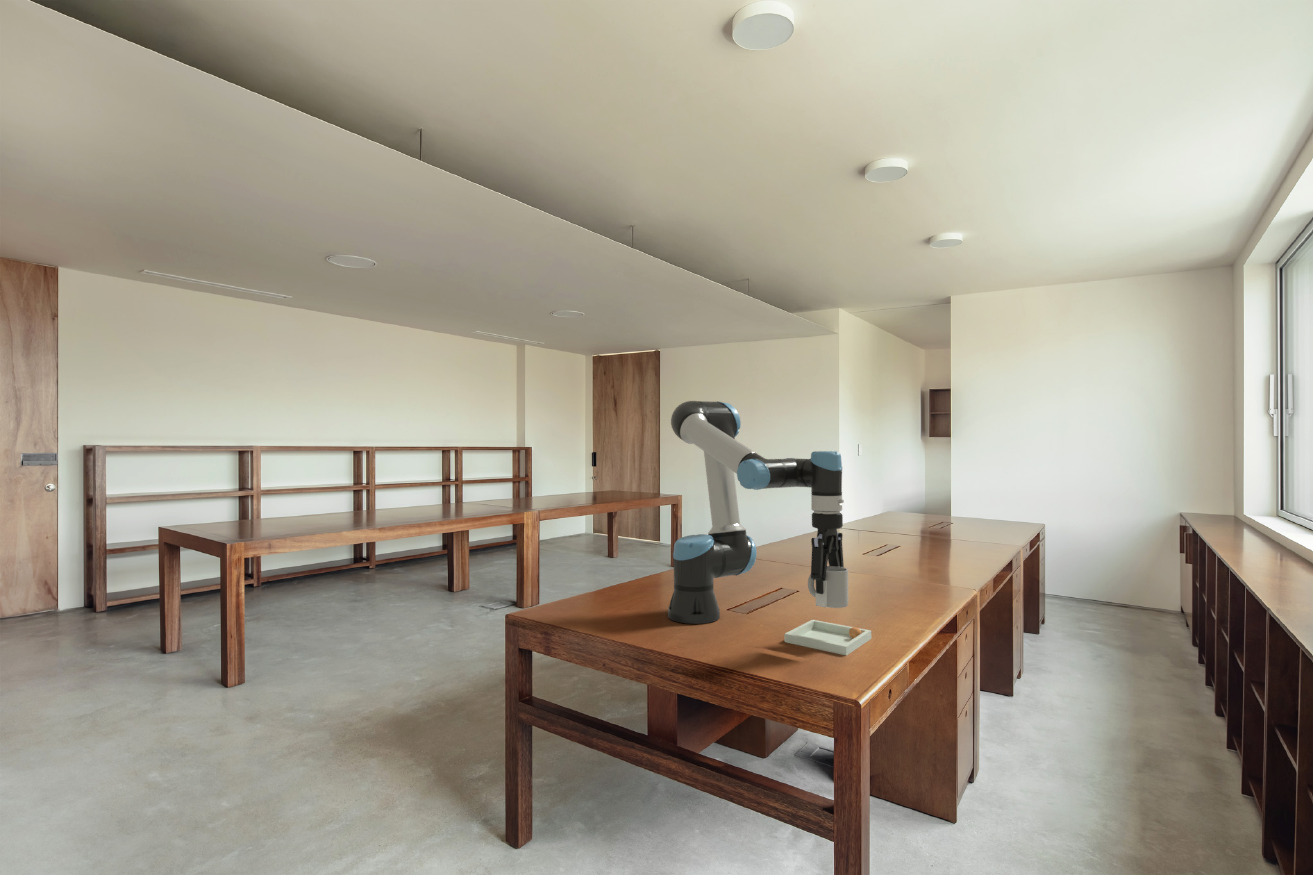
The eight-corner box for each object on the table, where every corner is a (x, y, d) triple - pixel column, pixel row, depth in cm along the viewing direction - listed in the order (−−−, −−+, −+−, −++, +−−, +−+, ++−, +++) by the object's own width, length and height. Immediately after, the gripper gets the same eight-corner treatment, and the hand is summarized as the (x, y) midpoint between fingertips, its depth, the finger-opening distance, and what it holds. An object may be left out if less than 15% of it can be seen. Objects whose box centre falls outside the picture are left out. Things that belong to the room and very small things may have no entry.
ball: (847, 639, 155) (847, 627, 155) (851, 636, 157) (851, 624, 157) (858, 641, 153) (858, 629, 153) (863, 638, 155) (863, 626, 155)
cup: (845, 609, 148) (844, 572, 149) (804, 604, 153) (803, 569, 153) (851, 602, 155) (850, 567, 155) (811, 598, 160) (811, 564, 160)
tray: (784, 645, 153) (784, 633, 153) (812, 630, 165) (812, 619, 165) (846, 659, 143) (846, 646, 143) (871, 642, 155) (871, 630, 155)
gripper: (824, 516, 145) (825, 614, 144) (856, 509, 160) (858, 597, 160) (795, 514, 149) (796, 609, 149) (829, 508, 165) (830, 593, 164)
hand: (828, 602), depth 154 cm, fingers closed on cup, 7 cm apart
